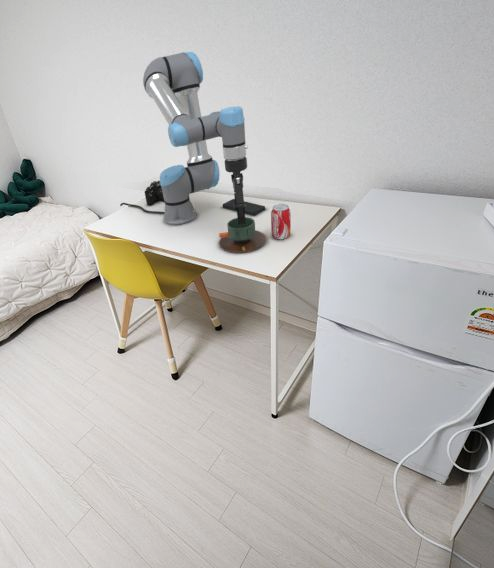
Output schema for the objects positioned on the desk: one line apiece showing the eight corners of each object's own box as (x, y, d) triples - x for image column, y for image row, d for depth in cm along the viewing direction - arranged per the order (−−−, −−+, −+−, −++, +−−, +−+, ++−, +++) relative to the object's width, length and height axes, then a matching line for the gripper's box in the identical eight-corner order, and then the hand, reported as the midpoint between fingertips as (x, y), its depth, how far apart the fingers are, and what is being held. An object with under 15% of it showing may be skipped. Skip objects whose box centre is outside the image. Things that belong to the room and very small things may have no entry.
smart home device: (233, 198, 170) (265, 205, 156) (233, 201, 171) (266, 209, 157) (221, 204, 166) (253, 212, 152) (221, 207, 167) (253, 216, 153)
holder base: (263, 228, 142) (262, 222, 140) (269, 250, 127) (268, 243, 126) (218, 234, 144) (218, 227, 143) (219, 256, 130) (219, 249, 128)
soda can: (291, 240, 131) (291, 210, 124) (271, 241, 132) (270, 211, 126) (290, 231, 136) (290, 202, 130) (271, 232, 138) (270, 204, 131)
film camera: (167, 205, 182) (163, 187, 176) (145, 207, 185) (141, 189, 179) (176, 193, 196) (172, 175, 190) (155, 194, 199) (151, 177, 194)
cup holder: (253, 226, 138) (253, 215, 135) (256, 239, 129) (256, 227, 126) (219, 230, 140) (217, 219, 137) (219, 243, 131) (218, 232, 128)
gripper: (249, 166, 107) (254, 229, 119) (243, 147, 128) (247, 202, 139) (225, 170, 108) (232, 231, 120) (223, 150, 129) (228, 205, 141)
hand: (240, 216), depth 130 cm, fingers open, 13 cm apart
